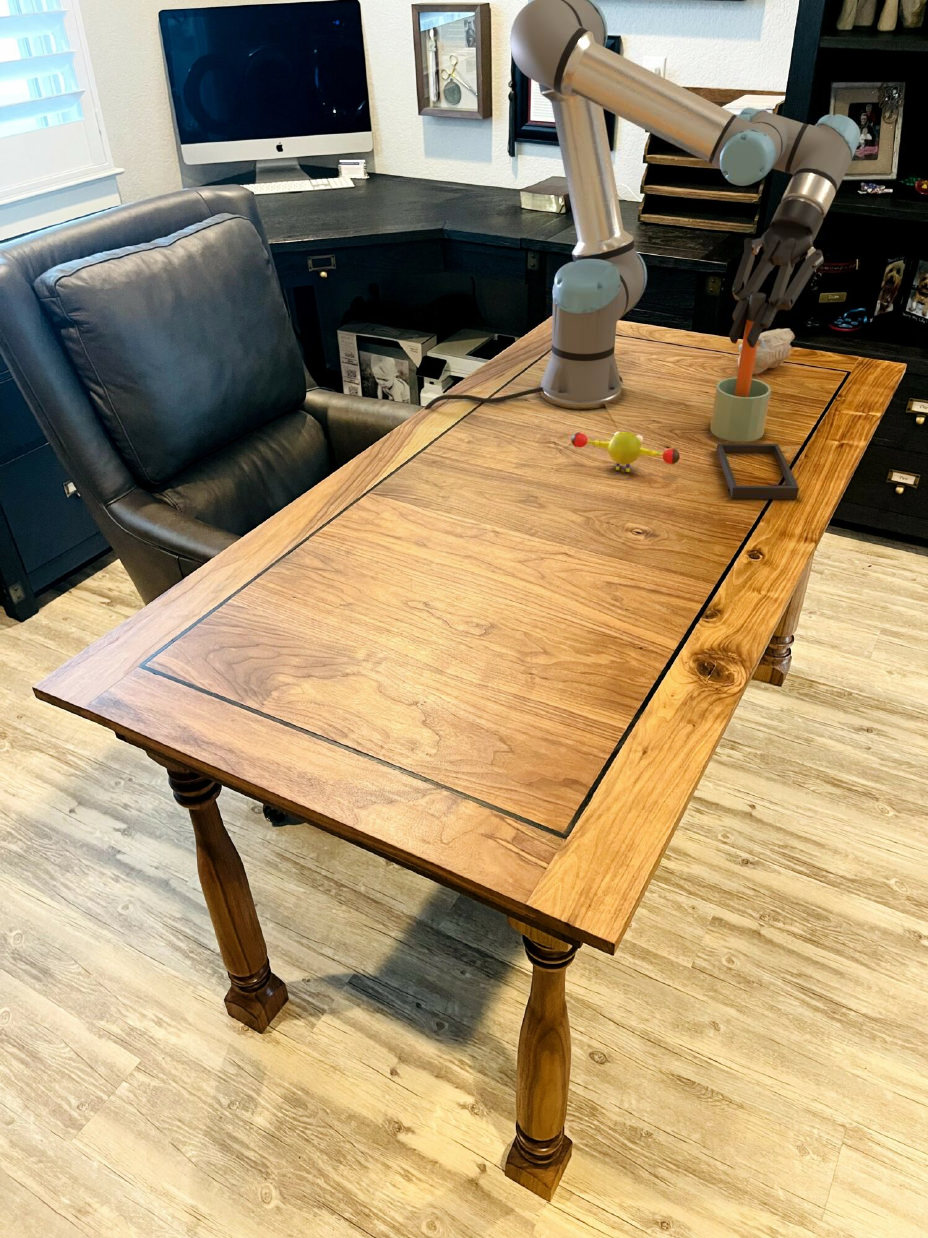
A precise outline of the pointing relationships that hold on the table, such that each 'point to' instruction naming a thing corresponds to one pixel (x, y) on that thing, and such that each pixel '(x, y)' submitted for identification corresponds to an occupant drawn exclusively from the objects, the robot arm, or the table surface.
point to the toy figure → (625, 449)
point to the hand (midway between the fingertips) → (741, 340)
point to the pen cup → (740, 411)
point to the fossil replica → (771, 349)
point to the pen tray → (758, 491)
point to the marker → (748, 352)
